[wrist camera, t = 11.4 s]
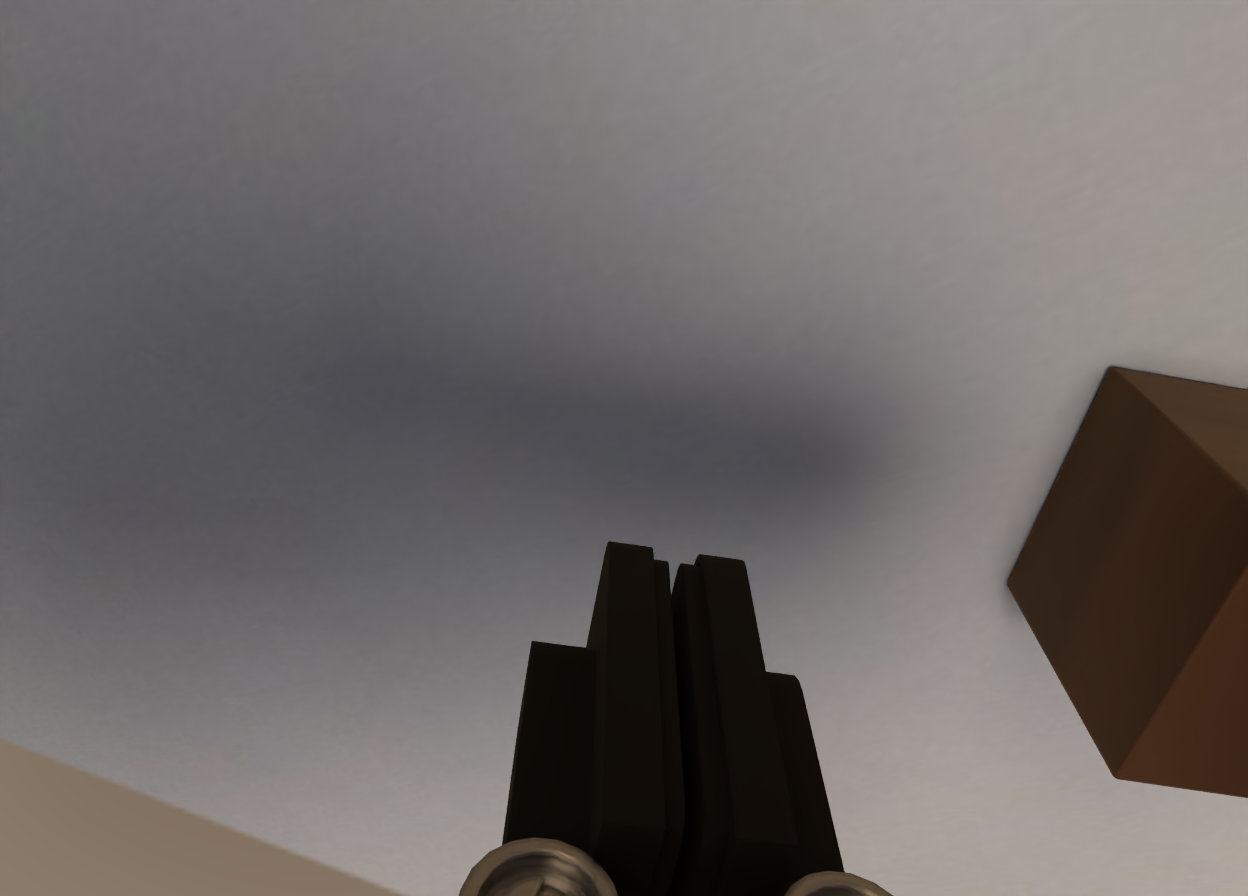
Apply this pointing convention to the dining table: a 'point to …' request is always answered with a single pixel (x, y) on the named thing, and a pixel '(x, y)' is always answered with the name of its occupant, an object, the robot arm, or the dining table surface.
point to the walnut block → (1151, 580)
